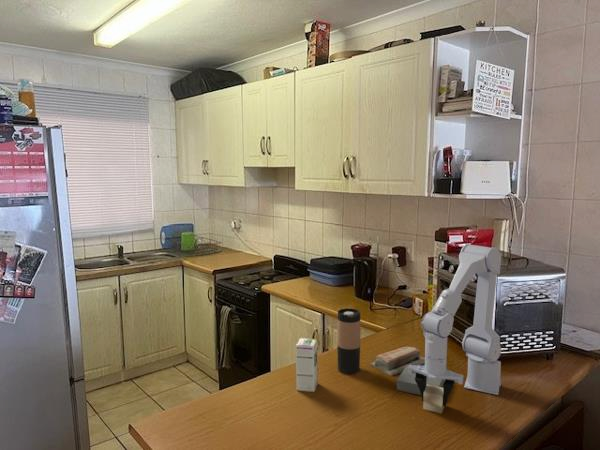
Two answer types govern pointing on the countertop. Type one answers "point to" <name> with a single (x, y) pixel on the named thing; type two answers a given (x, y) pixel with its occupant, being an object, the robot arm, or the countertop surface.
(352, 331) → the travel mug
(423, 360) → the packaged product
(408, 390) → the gray plinth
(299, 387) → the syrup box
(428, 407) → the birch block
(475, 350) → the robot arm
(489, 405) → the countertop surface
